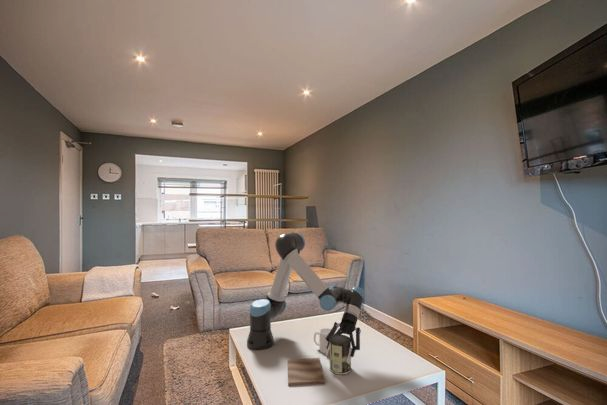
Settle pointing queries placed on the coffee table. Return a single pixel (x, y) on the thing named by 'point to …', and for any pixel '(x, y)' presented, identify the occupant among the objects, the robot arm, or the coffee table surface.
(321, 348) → the cup
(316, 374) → the walnut board
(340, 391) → the coffee table surface
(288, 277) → the robot arm
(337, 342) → the coffee can
